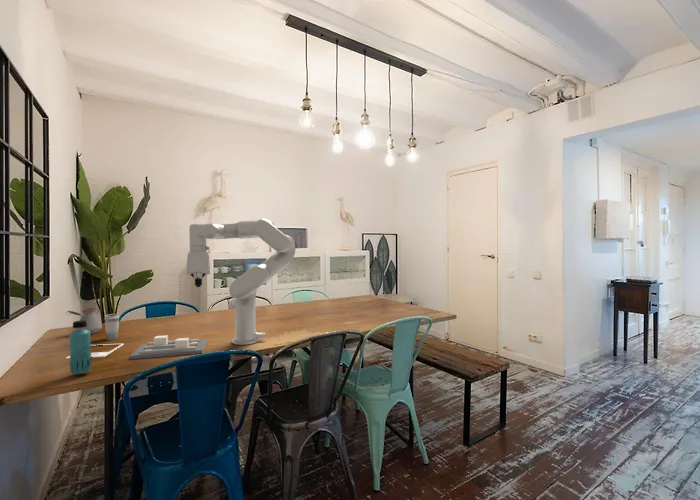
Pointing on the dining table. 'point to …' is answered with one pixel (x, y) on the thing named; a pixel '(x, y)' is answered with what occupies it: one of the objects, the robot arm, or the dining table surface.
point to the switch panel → (168, 349)
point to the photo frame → (102, 354)
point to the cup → (111, 326)
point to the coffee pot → (89, 320)
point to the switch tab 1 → (161, 340)
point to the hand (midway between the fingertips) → (198, 286)
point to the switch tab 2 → (181, 342)
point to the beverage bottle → (80, 348)
